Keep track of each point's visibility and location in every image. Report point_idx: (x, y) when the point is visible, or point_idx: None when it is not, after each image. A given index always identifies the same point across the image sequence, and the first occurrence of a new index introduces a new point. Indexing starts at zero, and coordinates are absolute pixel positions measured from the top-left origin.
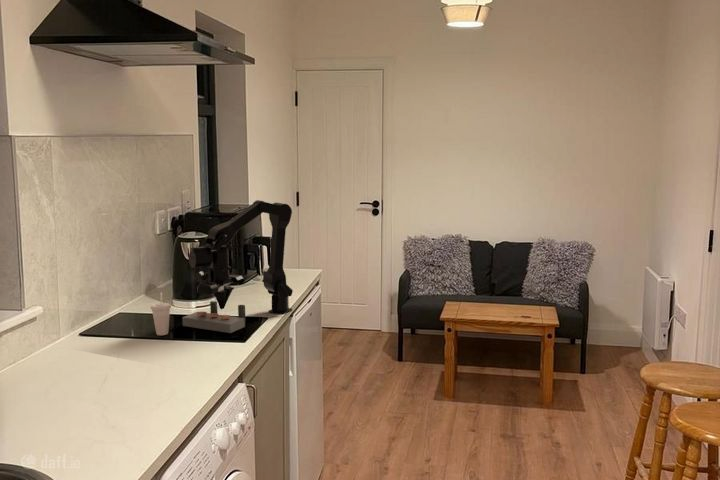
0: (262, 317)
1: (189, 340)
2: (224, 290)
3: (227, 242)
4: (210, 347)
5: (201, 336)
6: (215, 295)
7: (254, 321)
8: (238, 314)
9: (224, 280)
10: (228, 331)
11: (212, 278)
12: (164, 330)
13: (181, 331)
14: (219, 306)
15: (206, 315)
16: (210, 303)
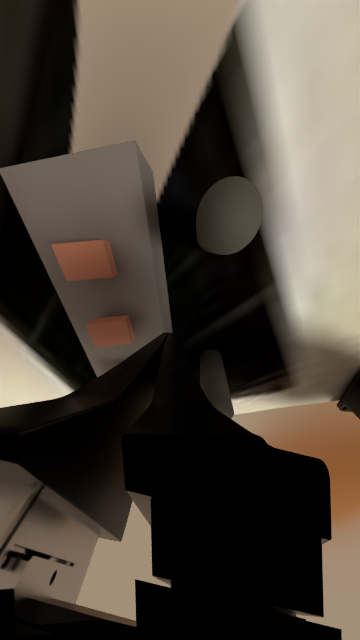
0: (285, 376)
1: (18, 337)
2: (97, 533)
3: None
4: (41, 392)
5: (55, 341)
6: (84, 396)
7: (235, 378)
8: (202, 374)
9: None
10: None
11: None
12: None
13: (21, 254)
14: (157, 337)
15: (118, 274)
16: (198, 208)
